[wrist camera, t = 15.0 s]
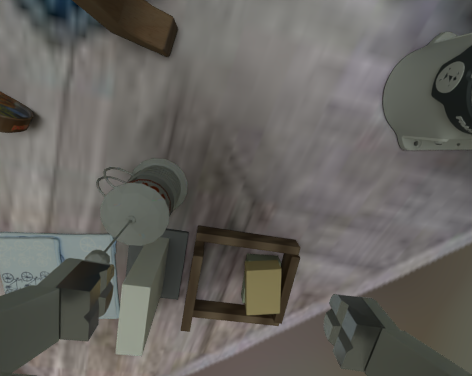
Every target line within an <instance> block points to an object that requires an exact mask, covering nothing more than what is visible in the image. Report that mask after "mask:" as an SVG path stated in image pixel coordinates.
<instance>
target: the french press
mask: <svg viewBox="0 0 472 376" xmlns="http://www.w3.org/2000/svg"><path fill="white" fill-rule="evenodd" d="M110 169H118V170H121V171H124V172H126V173H128V174H130V175H131V178H130V179H129V180H130V181H129V180H128V181H129V182H124V181H122V180H120V179H118V178H115V177H110V176H106V171H107V170H110ZM103 178H105V179H106V181H107V182H108V183H109V184H110V185H111V186H112V187H113V188H114V189H113V190H111V191H110V192H109V193H108V194H107V195H105V194H104V193H103V192H102V191H101V189H100V187H99V181H100V180H101V179H103ZM108 178H112V179H116V180H119V181H121V182H123V183H125V184H123V185H120V186H117V187H115V186H113V185H112V184H111V183H110V182H109V181H108ZM187 184H188V183H187V180H186V178H185V175H184V173H183V172H182V170H181V169H180V168H179V167H178V166H177V165H176V164H174V163H172V162H170V161H168V160H166V159H157V158H153V159H150V160H146V161H143V162H142V163H141V164H139V165H138V166H137V167H136V168H135V169H134V171H133V173H129V172H127V171H125V170H123V169H121V168H116V167H109V168H107V169H105V170H104V176H103V177H101V178H99V179H98V180H97V182H96V186H97V188H98V190H99V192H100V193H101V194H102V195H103V196H104V197H105V198H104V200H103V202H102V205H101V207H100V209H101V221H102V223H103V225H104V227H105V229H106V231H107V232H108V233H109V234H110V235H111V236H112V237H113V238H114V240H113V241H112V242H111V243H110V244H109V246H108V247H107V248H106V249H105V250H104V251H102V250H93V251H91V252H90V253H89V254H88V255H87V256H86V257H85V260H89V261H95V262H101V263H108V264H109V263H110V256H109V255H108V254H107V253H106V252H107V250H108V249H109V248H110V247H111V246H112V244H113V243H114V242H115V241H116V240H117V241H120V242H122V243H125V244H127V245H137V246H142V245H145V244H149V243H152V242H154V241H155V240H157V239H158V238H159V237H160V236H161V235H163V233H164V231H165V230H166V228H167V226H168V224H169V217H170V215H171V213H172V211H173V210H175V209H176V208H177V207H178V206H180V205H181V204H182V203H183V201H184V199H185V197H186V195H187Z"/></svg>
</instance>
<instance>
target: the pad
mask: <svg viewBox="0 0 472 376" xmlns="http://www.w3.org/2000/svg"><path fill="white" fill-rule="evenodd" d="M188 233H189V232H185V231H178V230H171V229H166V230H165V231H164V233H163V235H161V236H160V237H163V238H169V245H168V252H167V259H166V266H165V274H164V281H163V288H162V293H161V296H160V298H168V299H177V300H178V296H179V289H180V283H181V277H182V271H183V264H184V258H185V252H186V246H187V239H188ZM143 246H144V245H142V246H137V245H129V251H128V261H127V271H126V277H127V275H128V273H129V271H130V270H131V268H132V266H133V264H134V262H135V261H136V259H137V257H138V255H139V254H140V252H141V250H142V248H143Z"/></svg>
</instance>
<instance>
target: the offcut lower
mask: <svg viewBox="0 0 472 376" xmlns="http://www.w3.org/2000/svg"><path fill="white" fill-rule="evenodd" d="M266 260H278V262H279V264H280V266H281V262H280V259H279V257H278V256H274V255H260V254H247V258H246V261H266ZM241 297H242V303H245V271H244V278H243V285H242V292H241Z"/></svg>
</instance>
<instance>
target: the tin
mask: <svg viewBox="0 0 472 376" xmlns="http://www.w3.org/2000/svg"><path fill="white" fill-rule="evenodd" d="M33 116H34V115H33V113H32V111H31V110H30V109H29V108H28V107H26V106H25V105H23V104H22V103H20V102H18V101H16V100H14V99H13V98H11V97H9V96H7V95H5V94H4V93H2V92H0V132H5V133H12V132H22V131H25V130H27V128H28V126H29V124H30V122H31V119H32V118H33Z"/></svg>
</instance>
